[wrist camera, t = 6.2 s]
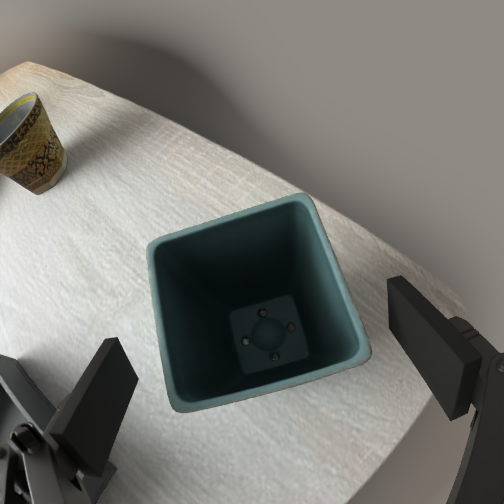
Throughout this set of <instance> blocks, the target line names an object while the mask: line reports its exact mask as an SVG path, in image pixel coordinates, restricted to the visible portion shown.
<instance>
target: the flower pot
mask: <svg viewBox="0 0 504 504" xmlns="http://www.w3.org/2000/svg"><path fill="white" fill-rule="evenodd" d="M146 259H147V265H148V274H149V282H150V289H151V297H152V305H153V311H154V318H155V324H156V332H157V337H158V343H159V350H160V356H161V361H162V367H163V372H164V379H165V384H166V388H167V394H168V398H169V401H170V404H171V406H172V408H173V409H174V410H175V411H176V412H178V413H190V412H195V411H199V410H204V409H208V408H213V407H217V406H222V405H226V404H230V403H233V402H238V401H242V400H246V399H250V398H254V397H257V396H261V395H265V394H269V393H272V392H276V391H280V390H283V389H287V388H290V387H294V386H297V385H301V384H304V383H308V382H311V381H314V380H317V379H320V378H323V377H326V376H330V375H332V374H335V373H338V372H342V371H345V370H347V369H351V368H354V367H356V366H359V365H362V364H364V363H365V362H367V361H368V360H369V359H370V357H371V355H372V349H371V345H370V342H369V339H368V336H367V333H366V331H365V328H364V326H363V323H362V320H361V318H360V316H359V313H358V310H357V308H356V305H355V303H354V301H353V297H352V295H351V293H350V291H349V288H348V286H347V283H346V281H345V278H344V276H343V273H342V270H341V268H340V265H339V263H338V260H337V258H336V256H335V253H334V251H333V248H332V246H331V244H330V241H329V239H328V236H327V234H326V231H325V229H324V227H323V224H322V222H321V219H320V217H319V214H318V212H317V209H316V206H315V204H314V202H313V200H312V199H311V198H310V197H309V196H308V195H307V194H306V193H296V194H293V195H289V196H285V197H282V198H280V199H276V200H273V201H270V202H266V203H264V204H260V205H257V206H255V207H251V208H248V209H245V210H242V211H239V212H236V213H233V214H230V215H226V216H223V217H221V218H218V219H215V220H211V221H209V222H206V223H202V224H200V225H195V226H193V227H189V228H186V229H183V230H180V231H177V232H174V233H170V234H167V235H164V236H161V237H158V238H157V239H155V240H153V241H151V242H150V243H149V244H148V245H147V247H146ZM261 310H265V311H266V315H265V316H264V317H261V316H260V315H259V312H260V311H261ZM290 324H293V325H294V326H295V330H294V331H291V332H290V331H288V329H287V327H288V326H289V325H290ZM244 338H249V339H250V343H249V344H248V345H245V344H244V343H243V340H244ZM273 353H277V354H278V355H279V358H278V360H276V361H274V360H272V359H271V355H272V354H273Z"/></svg>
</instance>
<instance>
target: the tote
mask: <svg viewBox="0 0 504 504" xmlns="http://www.w3.org/2000/svg"><path fill="white" fill-rule="evenodd" d="M55 412H56V409H55V408H54V406H53V405H52V404H51V403H50V402H49V401H48V400H47V398H46V397H45V396H44V395H43V394H42V393H41V391H40V390H39V389H38V388H37V386H36V385H35V384H34V383H33V382H32V380H31V379H30V378H29V376H28V375H27V374H26V373H25V371H24V370H23V369H22V367H21V366H20V365H19V363H18V362H17V361H16V359H13V358H10V357H7V356H4V355H1V354H0V443H4V442H5V443H8V444H9V445H10V446H11V447H12V449H13V450H19V449H18V447H17V446H16V445H15V444H14V443H13V442H12V440H11V439H10V434H11V432H12V430H13V429H14V428H15V427H16V426H17V425H19V424H20V423H23V422H31V423H33V425H34V426H35V427H36V428H37V430H38V431H39V432H40V433H41V435H43V433H44V431H45V429H46V428H47V426H48V424H49V422H50V421H51V419H52V417H53V416H54V414H55ZM115 470H116V467H115V466H113V465H112V464H111V463H110V462H109V461H107V463H106V466H105V469H104V472H103V475H102V478H98V477H89V476H86V475H85V474H84V473H83V472H82V471H81V470H80V469H78V471H77V475H78V476H79V477H80V478H81V480H82V482H83V485H84V487H85V489H86V492H87V494H88V496H89V498H90V500H91V502H92V504H95V503H96V502H97V500H98V498H99V497H100V495H101V493H102V492H103V490H104V488H105V487H106V485H107V483H108V482H109V480H110V478H111V477H112V475H113V473H114V472H115ZM14 487H15V491H16V492H17V493H18V494H19V488H17V487H16V486H14Z"/></svg>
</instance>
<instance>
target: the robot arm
mask: <svg viewBox="0 0 504 504" xmlns="http://www.w3.org/2000/svg"><path fill="white" fill-rule="evenodd" d="M387 291H388V313H389V329H390V331H391V332H392V333H393V335H394V336H395V338H396V339H397V341H398V342H399V343H400V345H401V346H402V348H403V349H404V351H405V352H406V354H407V355H408V357H409V358H410V360H411V361H412V362H413V364H414V365H415V367H416V368H417V370H418V371H419V373H420V374H421V376H422V377H423V379H424V380H425V382H426V383H427V385H428V387H429V388H430V390H431V391H432V393H433V394H434V396H435V397H436V399H437V400H438V402H439V404H440V405H441V407H442V408H443V410H444V412H445V413H446V414H447V416H448V418H449V420H450V421H452V420H454V419H456V418H459V417H461V416H463V415H465V414H467V413H468V411H469V407H470V404H471V403H472V404H473V405H474V407H475V408H476V411H475V414H474V417H473V420H472V422H471V425H470V427H471V430H470V434H469V438H468V441H467V445H466V448H465V452H464V455H463V458H462V462H461V465H460V468H459V471H458V474H457V476H456V480H455V482H454V485H453V487H452V490H451V493H450V495H449V498H448V501H447V503H446V504H504V353H499V352H498V351H497V350H496V349H495V348H494V347H493V346H492V345H491V344H490V343H489V342H488V341H487V340H486V339H485V338H484V337H483V336H482V335H481V334H479V332H478V331H477V330H476V329H474V328H473V326H472V325H471V324H469V323H468V322H467V321H466V320H464V319H462V318H459V317H457V316H455V317H453V318H450V319H447V318H446V317H445V316H444V315H443V314H441V313H440V312H439V311H438V310H437V309H436V308H435V307H434V306H433V305H432V304H431V303H430V302H429V301H428V300H427V299H426V298H425V297H424V296H423V295H422V294H421V293H420V292H419V291H418V290H417V289H416V288H415V287H413V286H412V285H411V284H410V283H409V282H408V281H407V280H406V279H405V278H404V277H403V276H402V275H400V276H396V277H393V278H389V279H387ZM138 380H139V378H138V377H137V375H136V373H135V371H134V369H133V367H132V365H131V363H130V361H129V359H128V357H127V356H126V354H125V352H124V350H123V347H122V345H121V343H120V341H119V339H118V337H114V338H108V339H105V340H104V341H103V343H102V344H101V346H100V348H99V349H98V351H97V352H96V354H95V355H94V357H93V359H92V360H91V362H90V363H89V365H88V366H87V368H86V370H85V371H84V373H83V375H82V376H81V378H80V379H79V381H78V383H77V384H76V386H75V388H74V389H73V391H72V393H70V394H69V395H68V396H67V397H66V398H65V399H63V400H62V402H61V404H60V405H59V407H58V410H56V412H55V414H54V416H53V417H52V419H51V421H50V422H49V424H48V426H47V428H46V429H45V431H44V433H43V435H41V433H40V432H39V431H38V430H37V428H36V427H35V426H34V425H33V423H31V422H23V423H20V424H19V425H17V426H16V427H15V428H14V429H13V430H12V432H11V434H10V439H11V440H12V442H13V443H14V444H15V445H16V446H17V447H18V449H19V450H13V449H12V447H11V446H10V445H9V444H8V443H5V442H4V443H0V504H92V502H91V500H90V498H89V496H88V494H87V492H86V489H85V487H84V485H83V482H82V480H81V478H80V477H79V476H78V475H77V471H78V469H80V470H81V471H82V472H83V473H84V474H85V475H86V476H89V477H98V478H102V475H103V472H104V469H105V466H106V463H107V461H108V458H109V455H110V452H111V450H112V447H113V444H114V442H115V439H116V436H117V433H118V431H119V428H120V426H121V423H122V420H123V418H124V415H125V413H126V410H127V407H128V405H129V402H130V400H131V397H132V395H133V392H134V390H135V387H136V385H137V382H138ZM14 486H16V487H17V488H19V494H18V493H17V492H16V491H15V487H14Z"/></svg>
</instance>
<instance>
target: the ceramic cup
mask: <svg viewBox="0 0 504 504" xmlns="http://www.w3.org/2000/svg"><path fill="white" fill-rule="evenodd" d="M66 165H67V154H66V152H65V150H64V148H63V147H62V145H61V143H60V141H59V139H58V137H57V135H56V133H55V131H54V129H53V127H52V125H51V123H50V120H49V118H48V115H47V113H46V111H45V109H44V107H43V105H42V103H41V101H40V99H39V97H38V95H37V94H36V93H28V94H25V95H23V96H21V97H20V98H18V99H17V100H15V101H14V102H12V103H11V104H10V105H9V106H7V107H6V108H5V109H4V110H3V111H2V112H1V113H0V174H3V175H5V176H7V177H9V178H10V179H12V180H13V181H15V182H17V183H18V184H20V185H21V186H23V187H24V188H26V189H27V190H29V191H31V192H32V193H34V194H36V195H39V194H41V193H43V192H44V191H46V190H48V189H50V188H51V187H53V186H54V185H55V183H56V182H57V181H58V179H59V178H60V177H61V175H62V174H63V173H64V171H65V170H66Z"/></svg>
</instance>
